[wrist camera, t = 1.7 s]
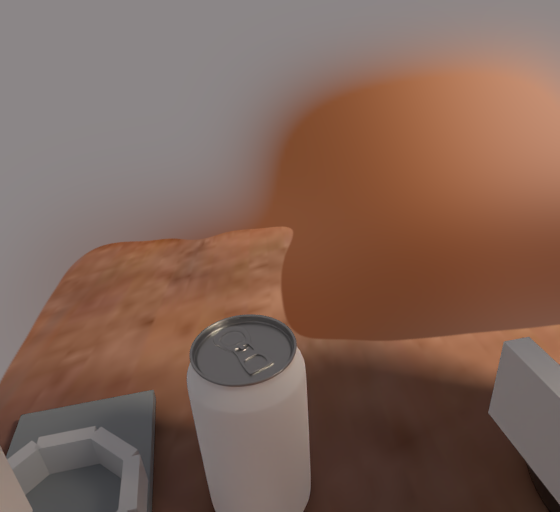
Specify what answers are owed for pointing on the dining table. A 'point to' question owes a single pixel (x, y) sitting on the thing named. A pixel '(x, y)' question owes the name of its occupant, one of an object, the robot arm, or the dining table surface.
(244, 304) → the dining table surface
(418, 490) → the dining table surface
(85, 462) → the socket plate
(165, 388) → the dining table surface
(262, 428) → the can
